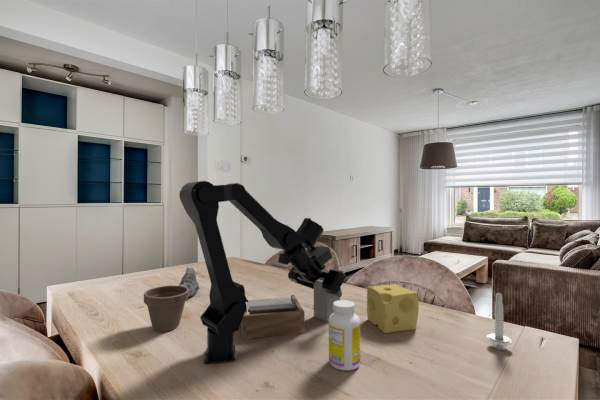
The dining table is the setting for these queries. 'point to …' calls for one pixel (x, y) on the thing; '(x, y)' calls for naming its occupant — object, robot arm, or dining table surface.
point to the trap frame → (274, 322)
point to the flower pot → (166, 306)
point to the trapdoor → (270, 305)
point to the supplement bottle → (344, 336)
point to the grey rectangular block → (323, 302)
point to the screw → (499, 326)
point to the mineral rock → (190, 281)
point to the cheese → (392, 308)
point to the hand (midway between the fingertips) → (329, 292)
